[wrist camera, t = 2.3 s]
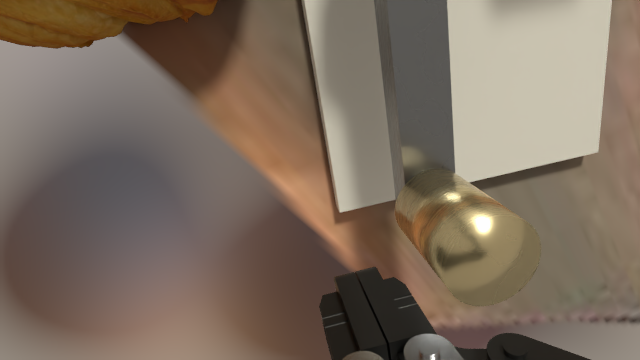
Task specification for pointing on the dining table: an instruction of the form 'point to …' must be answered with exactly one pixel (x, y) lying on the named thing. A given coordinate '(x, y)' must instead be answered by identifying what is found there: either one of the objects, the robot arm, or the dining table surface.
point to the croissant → (86, 19)
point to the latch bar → (443, 165)
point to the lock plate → (465, 88)
